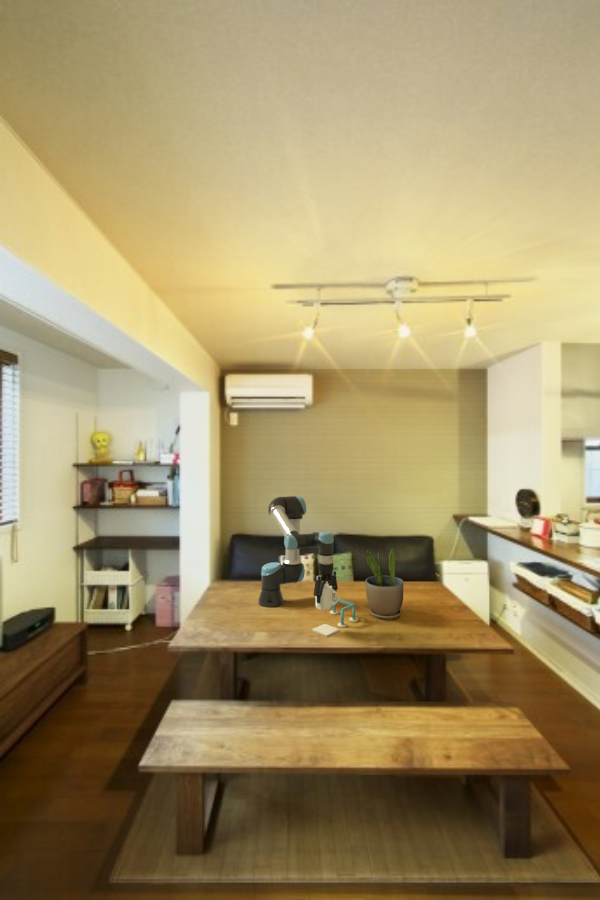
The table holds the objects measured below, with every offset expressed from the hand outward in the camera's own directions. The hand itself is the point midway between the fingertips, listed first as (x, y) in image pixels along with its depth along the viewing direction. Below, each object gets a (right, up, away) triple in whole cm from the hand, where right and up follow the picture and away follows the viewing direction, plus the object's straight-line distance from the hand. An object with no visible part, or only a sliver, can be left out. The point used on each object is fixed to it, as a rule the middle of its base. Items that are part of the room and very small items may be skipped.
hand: (325, 606), depth 209 cm
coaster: (0, -12, 0) cm, 12 cm away
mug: (+1, -1, +1) cm, 1 cm away
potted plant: (+35, -13, +22) cm, 43 cm away
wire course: (+8, -13, +15) cm, 21 cm away
